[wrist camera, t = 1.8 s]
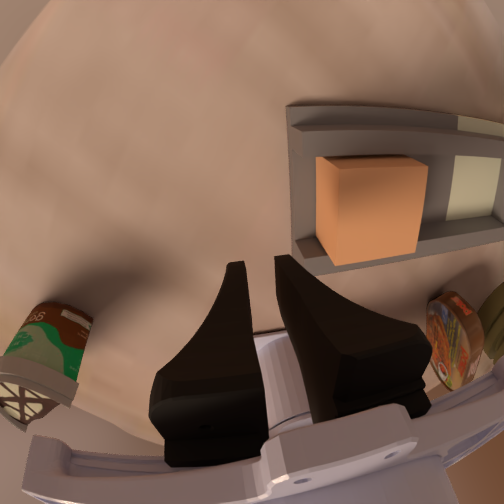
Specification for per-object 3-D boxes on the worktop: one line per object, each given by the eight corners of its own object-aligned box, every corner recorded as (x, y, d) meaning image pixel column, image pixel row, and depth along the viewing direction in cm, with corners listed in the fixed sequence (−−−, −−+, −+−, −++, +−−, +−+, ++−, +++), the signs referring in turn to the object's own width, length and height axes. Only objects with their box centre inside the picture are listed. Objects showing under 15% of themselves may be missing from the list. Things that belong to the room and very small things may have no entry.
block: (387, 226, 22) (414, 252, 18) (315, 235, 21) (335, 266, 18) (394, 150, 19) (428, 166, 15) (315, 152, 18) (339, 169, 15)
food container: (50, 266, 21) (-3, 354, 13) (102, 311, 24) (73, 406, 16) (6, 327, 24) (-28, 398, 15) (48, 360, 27) (23, 433, 18)
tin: (425, 286, 28) (470, 341, 21) (448, 273, 27) (494, 324, 20) (424, 360, 35) (451, 405, 28) (442, 349, 35) (470, 393, 28)
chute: (484, 233, 25) (505, 249, 22) (292, 264, 24) (303, 291, 21) (502, 123, 19) (528, 133, 16) (285, 106, 18) (300, 110, 15)
